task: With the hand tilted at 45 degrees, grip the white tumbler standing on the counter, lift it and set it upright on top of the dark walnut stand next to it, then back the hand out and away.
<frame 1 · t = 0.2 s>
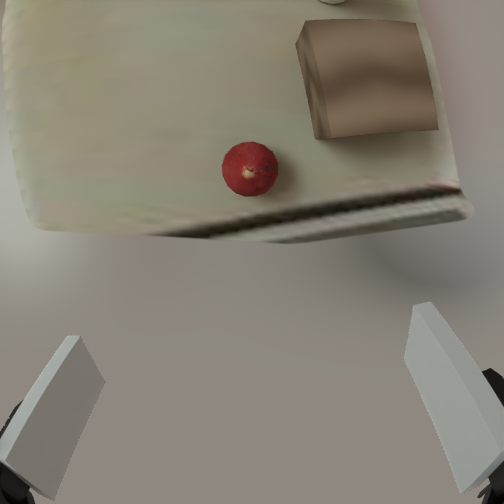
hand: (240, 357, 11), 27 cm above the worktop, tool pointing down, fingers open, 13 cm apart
onion: (250, 166, 35), on the worktop
walnut stand: (354, 85, 31), on the worktop
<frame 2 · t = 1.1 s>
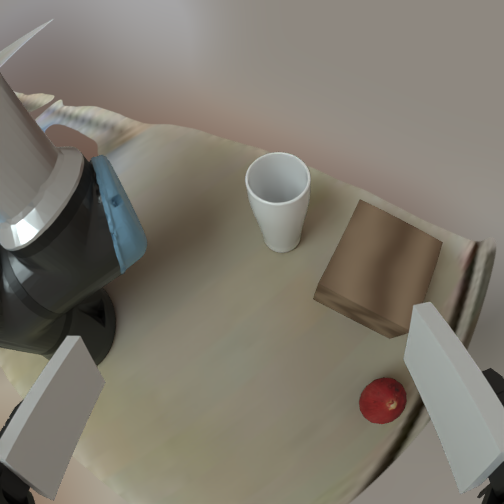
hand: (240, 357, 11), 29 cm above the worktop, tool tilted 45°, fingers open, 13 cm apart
onion: (374, 398, 35), on the worktop
white tumbler: (282, 237, 44), on the worktop
walnut stand: (370, 280, 40), on the worktop
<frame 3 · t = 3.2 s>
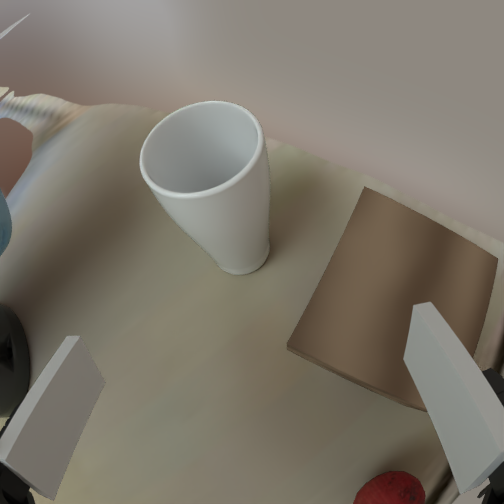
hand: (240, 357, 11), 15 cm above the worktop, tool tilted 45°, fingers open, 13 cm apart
onion: (377, 487, 19), on the worktop
white tumbler: (241, 249, 29), on the worktop
walnut stand: (379, 318, 25), on the worktop
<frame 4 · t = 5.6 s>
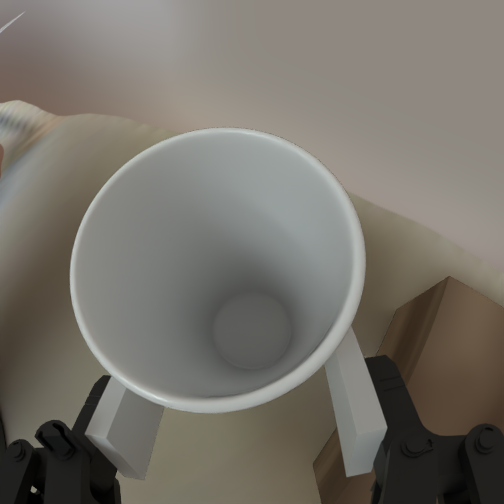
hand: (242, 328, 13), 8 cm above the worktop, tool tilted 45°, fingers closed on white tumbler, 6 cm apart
white tumbler: (253, 334, 20), on the worktop, touching gripper
walnut stand: (428, 419, 16), on the worktop
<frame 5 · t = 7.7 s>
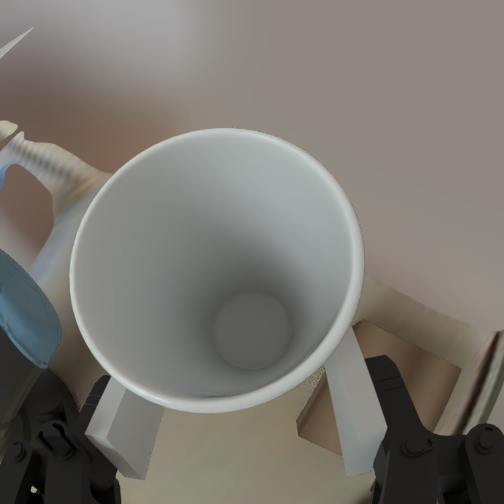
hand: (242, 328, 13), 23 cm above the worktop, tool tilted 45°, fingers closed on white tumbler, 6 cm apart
white tumbler: (253, 334, 20), point 15 cm above the worktop, touching gripper
walnut stand: (367, 397, 31), on the worktop
when the fingers open (17 cm above the worktop, at t = 10.0 s): white tumbler drops 1 cm, resting on walnut stand.
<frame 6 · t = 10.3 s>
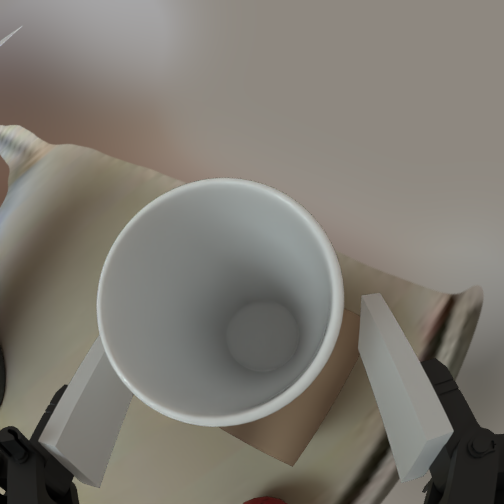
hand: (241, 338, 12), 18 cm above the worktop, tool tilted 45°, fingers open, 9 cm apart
white tumbler: (265, 338, 22), point 8 cm above the worktop, touching walnut stand
walnut stand: (269, 361, 28), on the worktop
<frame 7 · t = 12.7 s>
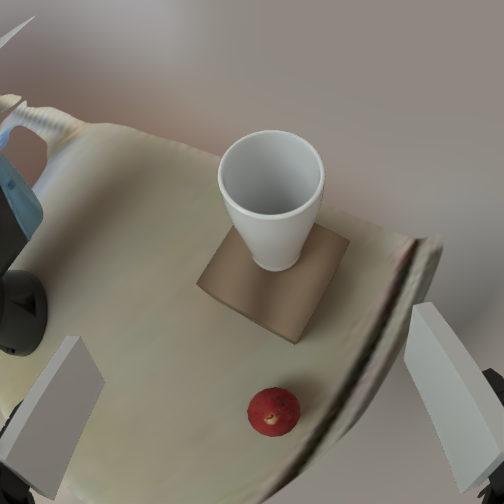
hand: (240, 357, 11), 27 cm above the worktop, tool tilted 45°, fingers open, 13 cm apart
onion: (275, 406, 35), on the worktop
white tumbler: (275, 248, 33), point 8 cm above the worktop, touching walnut stand
walnut stand: (276, 280, 40), on the worktop
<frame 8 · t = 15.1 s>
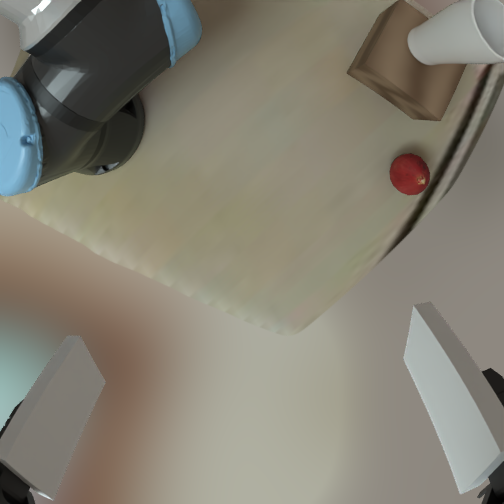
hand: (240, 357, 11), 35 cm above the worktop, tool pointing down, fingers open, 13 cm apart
onion: (398, 169, 41), on the worktop
white tumbler: (423, 46, 27), point 8 cm above the worktop, touching walnut stand
walnut stand: (397, 65, 35), on the worktop
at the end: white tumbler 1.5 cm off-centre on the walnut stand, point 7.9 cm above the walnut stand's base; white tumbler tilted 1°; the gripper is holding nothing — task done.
